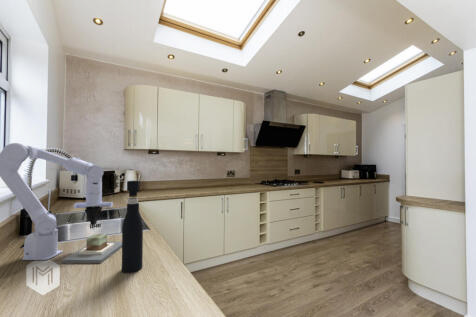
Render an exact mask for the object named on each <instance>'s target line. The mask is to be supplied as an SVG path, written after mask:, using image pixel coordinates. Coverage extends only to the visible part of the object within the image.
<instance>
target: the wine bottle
mask: <svg viewBox="0 0 476 317" xmlns="http://www.w3.org/2000/svg"><path fill="white" fill-rule="evenodd" d="M126 191H127V192H128V198H127V204H126V214H125V215H124V216H125V217H124V219H123V221H122V222H123V223H122V227H121V233H122V234H121V242H122V248H121V271H122V273H124V274H131V273H132V274H133V273H137V272H139V271H140V270H142V268H143V254H144V253H143V250H144V249H143V248H144V246H143V244H144V242H143V240H144V238H143V237H144V223H143V219H142V216H141V213H140V203H139V197H138V191H140V180H127V182H126Z"/></svg>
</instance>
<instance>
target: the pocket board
mask: <svg viewBox="0 0 476 317" xmlns="http://www.w3.org/2000/svg"><path fill="white" fill-rule="evenodd" d="M119 250H122V241H107V247H105V248H104V249H102V250H101V251H86V246H84V247H82V248H79V249H78V250H77V251H75V252H74V253H72V254H70V255H68V256H66V257H64V258H63V259H61V264H102V263H103V262H105V261H106V260H107V259H108V258H110V257H111V256H113V255H114V254H116V253H117V252H118V251H119Z"/></svg>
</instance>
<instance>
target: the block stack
mask: <svg viewBox="0 0 476 317" xmlns="http://www.w3.org/2000/svg"><path fill="white" fill-rule="evenodd" d="M107 240H108V234H107V233H94V234H92V235H90V236H88V237H86V251H101V250H102V249H104V248H105V247H107V242H108V241H107Z"/></svg>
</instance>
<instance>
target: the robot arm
mask: <svg viewBox="0 0 476 317" xmlns="http://www.w3.org/2000/svg"><path fill="white" fill-rule="evenodd" d="M27 158H28V159H29V160H33V159H41V160H45V161H48V162H51V163H54V164H57V165H60V166H63V167H64V168H65V170H66V171H68V172H71V173H75V174H78V175H81V176H86V183H85V184H86V186H85V189H86V190H85V192H86V193H85V202H76V203H74V204H73V209H84V208H85V209H84V213H85V214H87V217H88V219H89V223H90V225H91V226H95V225H96V224H97V222H98V218H99V215H100V213H101V211H102V210H103V209H104V208H113V206H114V202H113V201H103V199H102V198H103V181H102V180H103V176H104V173H105V171H104V170H103V168H102V167H101V166H100V165H96V164H93V162H91V161H90V162H87V161H85V160H83V159H81V157H79V156H77V157H74V156H73V157H69V158H66V157H64V156H61V155H58V154H56V153H53V152H50V151H47V150H46V149H45V150H44V149H42V148H38V147H35V146H30V145H25V144H22V143H18V142H13V143H9V144H7V145H5V146H4V147H3V149H2V150H1V151H0V178H1V180H2V181H3V182H4V184H5V185H6V187H7V188H8V189H9V191H10V192H11V193H12V195H14V197H15V198H16V199H17V201H18V202H19V203H20V204H21V206H22V208H23V209H24V210H25V212H27V214H28V215H29V217H30V219H31V221H32V223H33V224H34V232H31V233H30V234H28V235H27V236H26V237H25V240H24V242H23V244H24V245H23V246H24V247H23V257H22V258H21V260H22V261H48V260H49V259H52V258H54V257H56V256H57V255H60V254H61V253H63V252H64V250H62V249H61V250H60V249H59V250H58V247H59V246H58V245H59V243H58V240H59V239H58V238H59V235H58V234H59V229H58V228H57V225H58V223H57V217H56V215H55V214H53V213H51V212H49V211H48V210H47V209H46V207H45V206H44V205H43V204H42V202H41V201H40V200H39V198H38V196H36V194H35V192H33V190H32V189H31V187H30V186H29V185H28V183H27V182H26V180H25V179H24V178H23V176H21V174H20V173H19V170H20V168H21V166H22V163H24V162H25V161H26V160H27Z"/></svg>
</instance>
